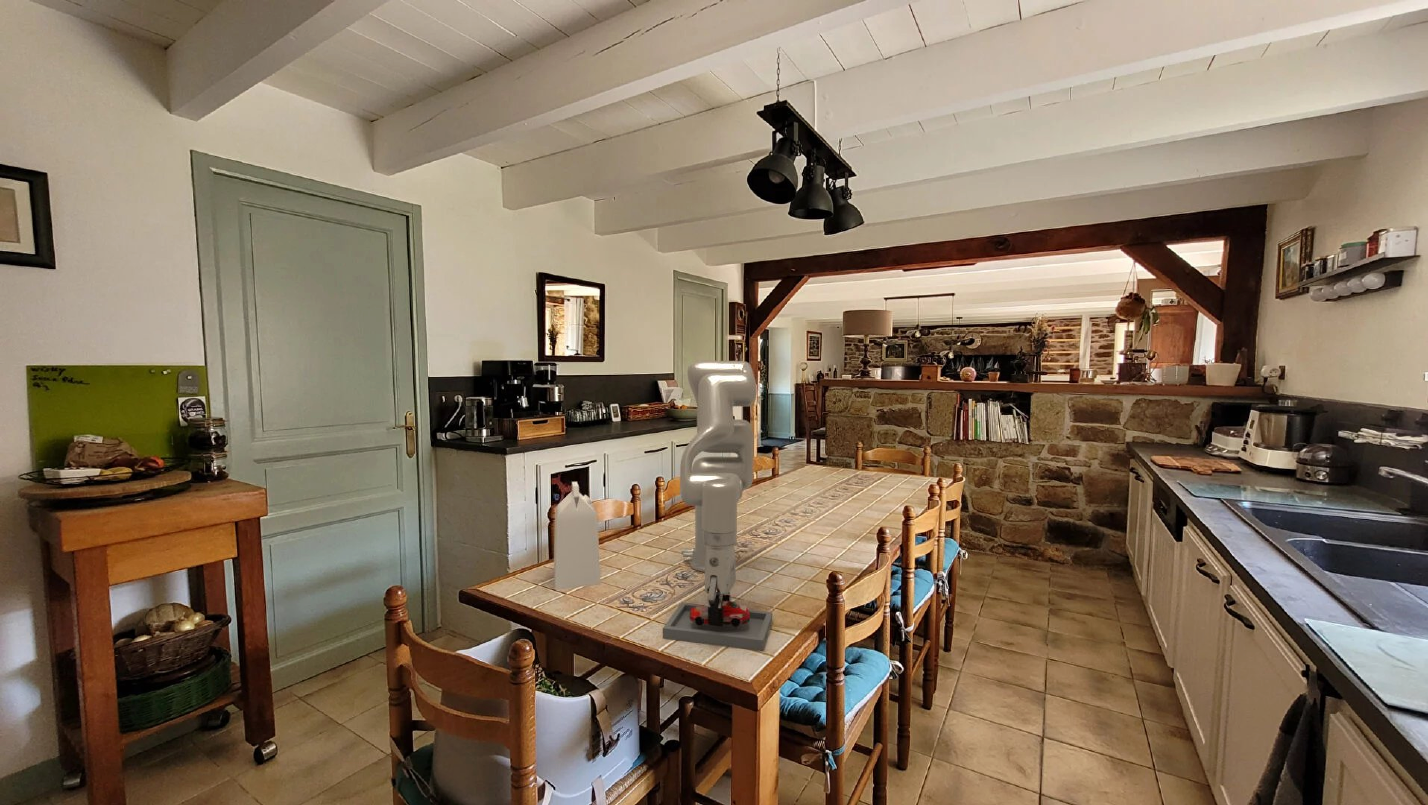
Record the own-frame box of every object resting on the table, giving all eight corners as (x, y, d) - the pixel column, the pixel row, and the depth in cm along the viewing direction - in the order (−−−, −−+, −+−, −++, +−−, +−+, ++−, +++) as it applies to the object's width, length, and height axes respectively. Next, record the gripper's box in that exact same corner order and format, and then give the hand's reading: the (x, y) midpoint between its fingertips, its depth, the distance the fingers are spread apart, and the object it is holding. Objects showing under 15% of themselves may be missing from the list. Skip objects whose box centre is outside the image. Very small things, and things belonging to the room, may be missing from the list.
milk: (553, 573, 154) (552, 480, 152) (595, 568, 158) (594, 478, 156) (555, 589, 143) (553, 490, 141) (600, 584, 146) (599, 487, 145)
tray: (662, 638, 117) (662, 628, 117) (681, 611, 130) (681, 602, 130) (762, 651, 112) (763, 640, 112) (772, 621, 125) (772, 612, 125)
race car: (687, 625, 119) (687, 607, 118) (691, 614, 124) (690, 597, 124) (749, 628, 117) (749, 609, 117) (749, 616, 123) (749, 599, 123)
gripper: (727, 551, 110) (727, 639, 111) (744, 527, 127) (743, 604, 128) (691, 548, 112) (691, 634, 113) (712, 525, 129) (712, 600, 130)
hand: (719, 617), depth 121 cm, fingers closed on race car, 5 cm apart
